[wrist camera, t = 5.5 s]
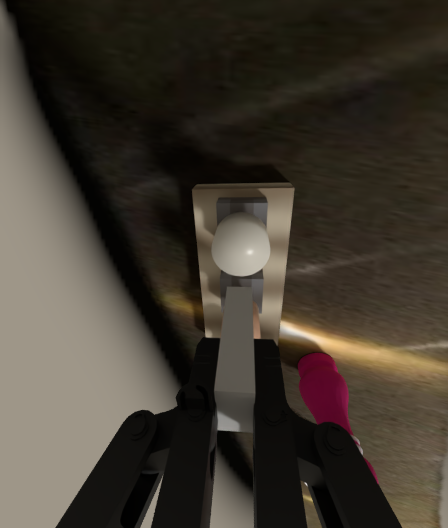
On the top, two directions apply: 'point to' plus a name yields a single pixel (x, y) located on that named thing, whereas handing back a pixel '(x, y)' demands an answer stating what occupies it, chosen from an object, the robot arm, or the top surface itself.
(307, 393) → the pepper mill
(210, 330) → the knob board
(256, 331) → the middle pink knob
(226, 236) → the knob
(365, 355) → the top surface
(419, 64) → the top surface
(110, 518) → the robot arm
